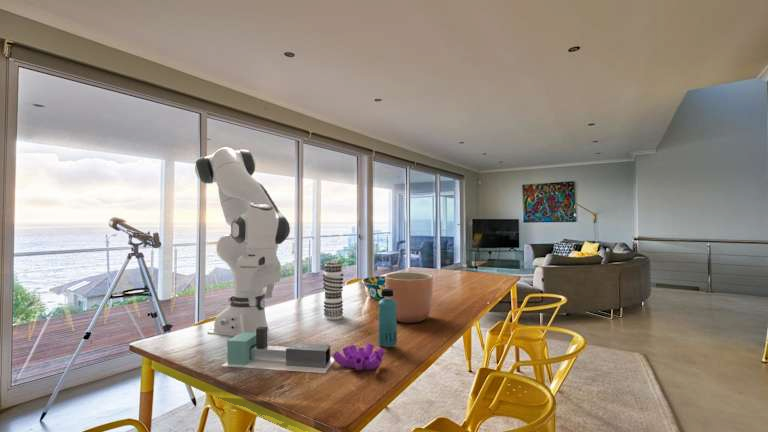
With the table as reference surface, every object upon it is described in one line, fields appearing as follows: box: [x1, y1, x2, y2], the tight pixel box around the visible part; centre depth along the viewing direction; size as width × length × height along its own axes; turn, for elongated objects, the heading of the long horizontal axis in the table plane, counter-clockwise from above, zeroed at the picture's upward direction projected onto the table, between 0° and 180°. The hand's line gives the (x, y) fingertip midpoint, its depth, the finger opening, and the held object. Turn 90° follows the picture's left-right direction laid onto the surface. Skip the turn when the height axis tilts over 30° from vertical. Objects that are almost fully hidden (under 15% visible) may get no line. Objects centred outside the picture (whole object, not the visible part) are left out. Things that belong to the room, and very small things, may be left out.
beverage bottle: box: [377, 288, 398, 347], centre depth 123 cm, size 6×7×20 cm
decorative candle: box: [322, 260, 345, 320], centre depth 161 cm, size 9×9×25 cm
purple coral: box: [332, 342, 386, 371], centre depth 106 cm, size 11×15×10 cm
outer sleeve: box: [286, 342, 331, 368], centre depth 108 cm, size 12×5×5 cm, turn 80°
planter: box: [384, 271, 434, 324], centre depth 157 cm, size 21×21×19 cm
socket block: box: [226, 332, 256, 365], centre depth 111 cm, size 6×8×7 cm
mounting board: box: [221, 356, 335, 374], centre depth 109 cm, size 32×11×1 cm, turn 80°
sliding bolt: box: [250, 326, 288, 361], centre depth 109 cm, size 20×3×9 cm, turn 80°
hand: (261, 301), depth 110 cm, fingers open, 8 cm apart
